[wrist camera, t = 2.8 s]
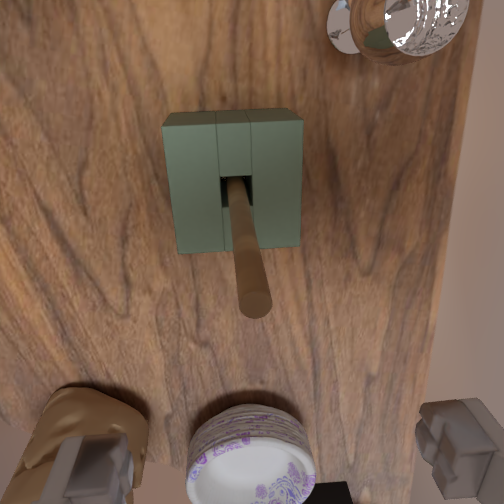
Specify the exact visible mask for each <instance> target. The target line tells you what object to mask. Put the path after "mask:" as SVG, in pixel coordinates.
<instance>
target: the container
mask: <svg viewBox="0 0 504 504" xmlns="http://www.w3.org/2000/svg"><path fill="white" fill-rule="evenodd" d="M148 421H149V420H145V419H144V417H143V415H141V414H140V413H139V411H137V410H136V409H134V408H132V407H130V406H129V405H127V404H126V403H123V402H121V401H119V400H117V399H114V398H112V397H110V396H108V395H105V394H103V393H101V392H99V391H97V390H95V389H92V388H85V387H83V388H77V387H68V388H65V389H62V388H61V389H60V390H59V391H55V392H54V393H53V395H52V396H51V397H50V399H49V401H48V403H47V405H46V407H45V409H44V411H43V414H42V417H41V418H40V420H39V422H38V424H37V426H36V428H35V430H34V432H33V434H32V436H31V439H30V441H29V443H28V445H27V447H26V449H25V451H24V453H23V455H22V458H21V459H20V462H19V464H18V466H17V468H16V470H15V472H14V475H13V477H12V479H11V481H10V483H9V485H8V487H7V489H6V491H5V493H4V495H3V497H2V499H1V501H0V504H31V503H32V502H33V501H38V500H39V499H40V497H41V494H42V492H43V489H44V487H45V484H46V481H47V479H48V476H49V474H50V471H51V469H52V466H53V464H54V461H55V459H56V456H57V453H58V451H59V448H60V446H61V443H62V442H63V441H64V440H65V438H66V437H73V436H85V435H99V434H113V433H126V435H127V438H128V445H127V449H128V450H129V451H130V452H131V453H132V457H133V465H134V470H133V482H132V488H138V487H140V485H141V481H142V475H143V469H144V463H145V458H146V451H147V446H148V436H149V427H148ZM132 488H131V491H130V492H129V494H128V495H127V496H126V497H125V501H126V504H133V490H132Z"/></svg>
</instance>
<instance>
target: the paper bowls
mask: <svg viewBox="0 0 504 504" xmlns="http://www.w3.org/2000/svg"><path fill="white" fill-rule="evenodd" d="M315 480H316V468H315V463H314V460H313V456H312V452H311V448H310V444H309V441H308V436H307V433H306V431H305V429H304V427H303V426H302V425H301V423H300V422H299V421H298V420H297V419H296V418H294V417H293V416H291V415H290V414H288V413H286V412H284V411H282V410H278V409H276V408H273V407H267V406H264V405H259V404H242V405H237V406H234V407H231V408H229V409H227V410H225V411H223V412H222V413H220V414H219V415H217V416H214V417H213V418H211V419H209V420H208V421H207V422H205V423H204V424H203V425H202V426H201V427H200V428H199V429H198V430H197V431H196V433H195V434H194V436H193V437H192V439H191V441H190V444H189V448H188V457H187V468H186V480H185V484H186V492H187V495H188V497H189V499H190V501H191V502H192V504H302V503H303V502H304V501H305V500H306V499H307V498H308V496H309V495H310V493H311V492H312V490H313V487H314V484H315Z"/></svg>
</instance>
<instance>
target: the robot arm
mask: <svg viewBox="0 0 504 504" xmlns="http://www.w3.org/2000/svg"><path fill="white" fill-rule="evenodd" d="M419 413H420V415H421V417H422V419H421V420H420V421H419V422H418V423H417V424H416V429H415V436H416V443H417V446H418V449H419V451H420V453H421V455H422V457H423V459H424V460H425V461H426V462H428V463H429V464H430V465H432V466H433V471H432V477H433V478H434V480H435V482H436V484H437V486H438V488H439V490H440V491H441V493H442V495H443V497H444V499H445V500H447V499H459V498H472V497H477V498H476V499H477V500H478V501H479V502H480V503H481V504H504V429H503V428H502V427H501V425H500V424H499V423H498V422H497V420H496V419H495V418H494V417H493V415H492V414H491V413H490V411H489V410H488V409H487V408H486V406H485V405H484V404H483V403H482V401H481V400H479V399H478V398H469V399H459V400H456V399H455V400H446V401H437V402H428V403H423V404H422V405H421V407H420V411H419ZM127 445H128V438H127V435H126V433H113V434H99V435H85V436H73V437H66V438H65V440H64V441H63V442H62V443H61V446H60V448H59V451H58V453H57V456H56V459H55V461H54V464H53V466H52V469H51V471H50V474H49V476H48V479H47V481H46V484H45V487H44V489H43V492H42V494H41V497H40V499H39V500H38V501H33V502H32V503H31V504H126V501H125V497H126V496H127V495H128V494H129V492H130V491H131V488H132V482H133V470H134V465H133V457H132V453H131V452H130V451H129V450H128V449H127Z"/></svg>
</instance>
